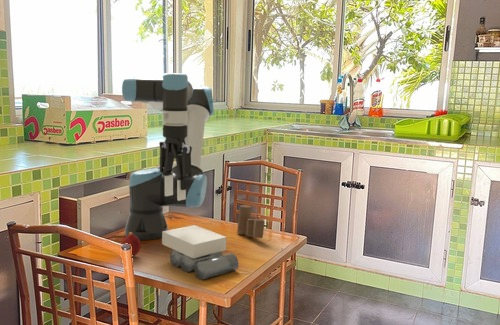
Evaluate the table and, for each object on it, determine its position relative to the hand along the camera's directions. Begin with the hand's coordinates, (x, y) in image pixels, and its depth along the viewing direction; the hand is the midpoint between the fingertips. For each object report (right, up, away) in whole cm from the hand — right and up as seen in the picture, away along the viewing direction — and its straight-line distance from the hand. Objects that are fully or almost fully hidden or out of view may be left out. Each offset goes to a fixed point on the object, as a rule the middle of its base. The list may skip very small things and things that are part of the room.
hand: (175, 197), depth 152 cm
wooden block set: (+23, -16, +24) cm, 37 cm away
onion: (-13, -18, -3) cm, 23 cm away
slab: (+7, -14, -7) cm, 17 cm away
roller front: (+9, -20, -9) cm, 24 cm away
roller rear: (+4, -18, -4) cm, 19 cm away
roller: (+16, -19, -16) cm, 30 cm away
